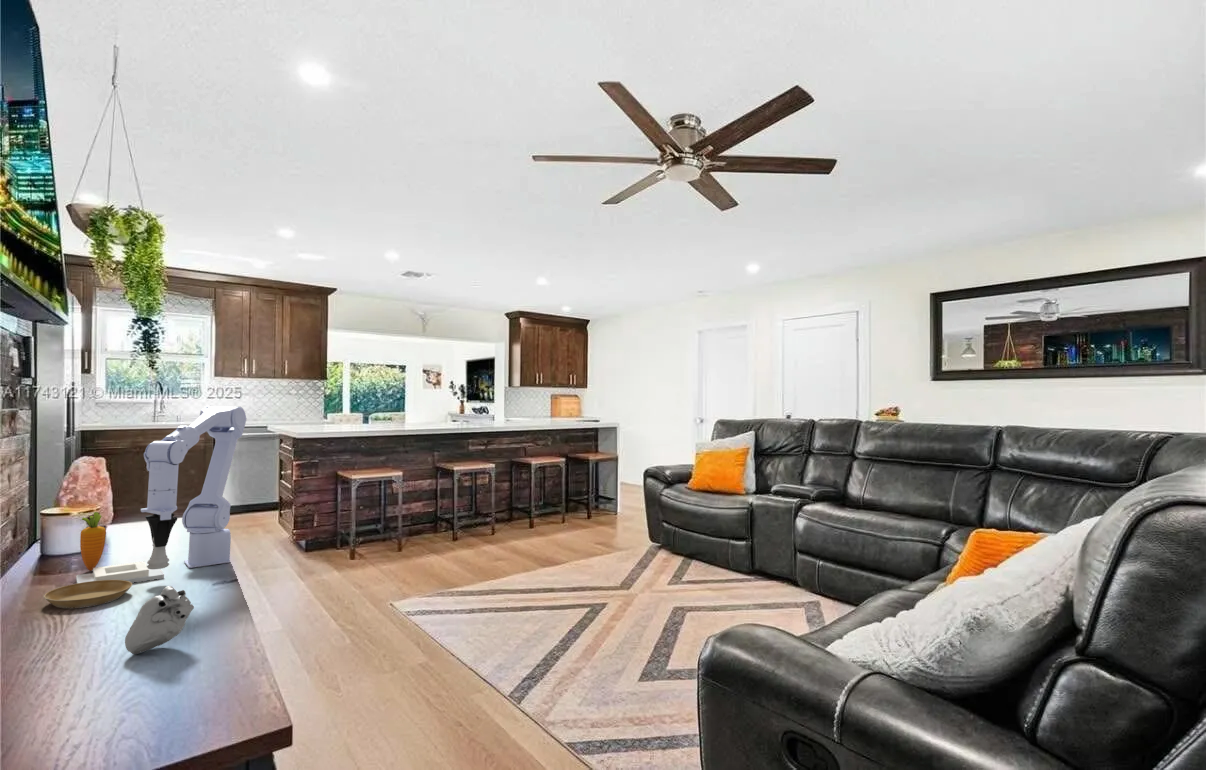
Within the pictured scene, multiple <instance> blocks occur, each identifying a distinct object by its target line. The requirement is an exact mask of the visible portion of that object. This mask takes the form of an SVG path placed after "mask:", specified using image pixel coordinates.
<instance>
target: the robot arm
mask: <svg viewBox="0 0 1206 770" xmlns="http://www.w3.org/2000/svg"><path fill="white" fill-rule="evenodd" d="M246 422H247V415H246V411H245V409H244V408H243V407H241V406H212V405H206V406H204V408H202V409H200V413H199V416H198V417H197V418H196V419H195V420H194V421H193V422H192V423H190V424H189V425H179V426H177V427H176V428H175V430H174V431H173V432H171V433H170V434H167V435H166V436H165V437H163V438H162V439H161V440H154V441H152V442H151V443H148V444H147V445H146V448H145V451H144V452H143V458H144V461H145V463H146V470H147V472H148V486H147V487H148V489H147V501H146V503H147V505H146V507H145V508H140V512H141V513H148V514H149V513H150V514H149V515H145V516H144V517H145V520H146V521H147V523H148V525H149V529H150V534H151V535H150V536H151V540H152V538H153V537H154V541H153V540H152V544H153V543H154V544H155V547H163V546H166V547H167V545H168V542H169V539H170V536H171V535H170V534H171V532H172V529H173V527H174V526H175V524H176V523H177V521H178V517H177V516H175V513H174V512H175V511H177V510H178V506H177V501H178V500H177V498H178V483H179V465H180V463H183V462H184V460H185V458H186V455H187V453H188V451H189V450H190V449H191V448H192V447H194V446H195V445H197V444H198V443H199V441H200V436H201V435H202V434H205V433H207V434H208V436H209V437H211V438H214V440H215V444H214V446H213V451H212V455H211V458H210V461H209V465H208V468H207V472H206V476H205V479H204V483H203V486H202V489H201V493H200V494H199V495H197V496H196V497H194V498H192V499H191V500H190V501H189V502H188V505H187V508H186V509H185V511H184V512H183V514H182V517H181V523H182V525H183V528H184V529H186V532H187V533H189V540H188V554H187V555H188V557H187V559H185V560H184V561H183V562H184V564H185V565H186V566H187V568H189V569H191V568H199V567H200V568H201V567H207V566H214V565H219V564H226V563H227V564H228V563H230V562H231V560H230V559H231V542H232V541H231V530H230V529H229V528H226V527H227V526H228V524H229V522H230V519H231V514H230V513H231V506H232V504H231V503H230V502H229V501H228V500H227V499H226V498H225V497H224V492H225V488H226V484H227V481H228V476H229V474H230V469H231V466H232V462H233V459H234V455H235V452H236V448H237V443H238V440H239V439H240V438H242V437H243V432H244V430H245V427H246ZM229 561H230V562H229Z"/></svg>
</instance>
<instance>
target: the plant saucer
mask: <svg viewBox="0 0 1206 770" xmlns="http://www.w3.org/2000/svg"><path fill="white" fill-rule="evenodd" d="M132 586H133V583H131V582H129V581H125V580H99V581H90V582H83V583H77V582H76V583H74V584H68V585H63V586H60V587H56V588H54V589H51V590H49V591H47V592H46V593H45V594H44V595H43V598H44V599H45V600H46V601H47V602H48V603H49V604H51V605H52V606H54V607H56V608H59V609H80V607H83V608H88V606H90V607H94V605H95V606H99V605H104V604H107V603H111V602H113V601H115V600H118V599H120V598H121V597H122V596H124V595H125V594H126V593H127V592H128V591H129V590H130V588H131V587H132Z"/></svg>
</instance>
